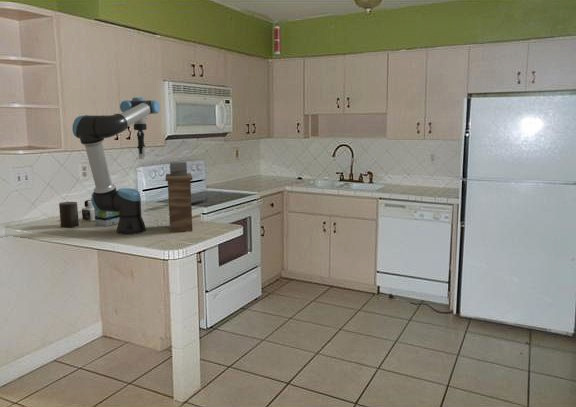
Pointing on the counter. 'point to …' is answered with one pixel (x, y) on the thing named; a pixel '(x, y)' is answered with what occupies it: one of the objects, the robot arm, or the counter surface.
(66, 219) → the pillar candle
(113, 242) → the counter surface
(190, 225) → the pedestal
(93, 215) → the medicine bottle
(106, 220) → the tea box
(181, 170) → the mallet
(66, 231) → the counter surface
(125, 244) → the counter surface
